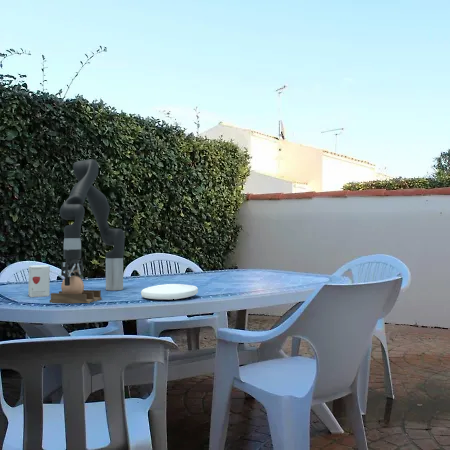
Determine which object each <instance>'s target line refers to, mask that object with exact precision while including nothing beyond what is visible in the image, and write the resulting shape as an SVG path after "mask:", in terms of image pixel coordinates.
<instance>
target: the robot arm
mask: <svg viewBox="0 0 450 450" xmlns="http://www.w3.org/2000/svg"><path fill="white" fill-rule="evenodd" d="M72 168H73V169H72V170H73V173H74V175H75V177H76V180H77V181H78V182H76V183H75V185H74V186H73V187H72V189H71V190H70V192H69V193H70V194H69V197H68V198H67V199H66V200H65V201H64V202H63V203H62V204H61V206H60V209H59V216H60V217H61V219H63V220H66V221H68V220H69V221H70V220H71V221H74V222H73V223H72V224H69V225H65V226H64V228H63V230H64V231H63V232H64V234H63V235H64V236H63V238H64V239H63V260H65V261H64V262H63V261H62V262H61V269H60V271H61V272H60V274H61V275H60V276H62V277H64V279H65V286H69V285H70V276H71V275H72V273H74V276H78V277H80V278H81V275H82V274H84V267H83V265H84V263H83V260H80V259H81V258H82V240H81V239H82V238H81V228H82V224H83V220H84V217H85V207H84V206H83V205H84V204H85V200H86V199H87V202H88V204H89V207H90V209H91V212H92V214H93V216H94V218H95V221H96V224H97V226H98V227H97V228H98V229H99V232H100V233H99V234H100V236H101V239H102V242H103V243H104V245H106V246H113V249H112V250H110V251H108V252H105V291H122V290H124V253H125V241H126V240H125V238H126V237H125V232H124V230H123V229H121V228H110V225H109V223H108V217H109V215H110V212H111V211H110V209H111V208H110V204H109V202H108V199H107V197H106V195H105V194H104V193H103V192H102V191H100V190H99V189H98V188H96V187H95V186H94V185H93V184H94V182H95V180H96V179H97V177H98V174H99V165H98V162H97V161H96V160H95V159H93V158H91V159H84V160H83V159H82V160H78V161H77V160H76V161H75V162H74V163H73V167H72Z"/></svg>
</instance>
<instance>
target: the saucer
mask: <svg viewBox="0 0 450 450" xmlns="http://www.w3.org/2000/svg"><path fill="white" fill-rule="evenodd" d="M60 286H61V287H60V289H61V291H62V292H63V293H69V294H82V293H83V291H84V290H85V283H84V281H83V279H82V278H81V276H80V277H78V276H75V275H70V285H69V286H65V278H64V279H63V280H62V282H61V285H60Z"/></svg>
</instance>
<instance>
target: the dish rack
mask: <svg viewBox="0 0 450 450" xmlns="http://www.w3.org/2000/svg"><path fill="white" fill-rule="evenodd" d="M101 294H102V293H101V290H99V289H98V290H97V289H96V290H95V289H94V290H93V289H84V291H83V293H82V294H69V293H63V292H62V290H60V291H58V292H51V293H50V299H49V303H50V302H52V304H74V303H88V304H91V303H95V302H98V301H101V300H102V299H103V297H102V295H101ZM97 300H98V301H97ZM94 301H95V302H94ZM90 302H91V303H90Z"/></svg>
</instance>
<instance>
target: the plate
mask: <svg viewBox="0 0 450 450" xmlns="http://www.w3.org/2000/svg"><path fill="white" fill-rule="evenodd" d="M198 293H199V288H198V287H197V286H196V285H192V284H182V283H168V284H167V283H165V284H159V285H152V286H148V287H145V288H143V289H141V292H140V294H141V297H142V298H143V299H144V298H145V299H150V300H157V301H158V300H159V301H161V300H162V301H166V300H168V301H172V300H173V299H174V300H180V299H185V298H189V297H193V296H195V295H198Z"/></svg>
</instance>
